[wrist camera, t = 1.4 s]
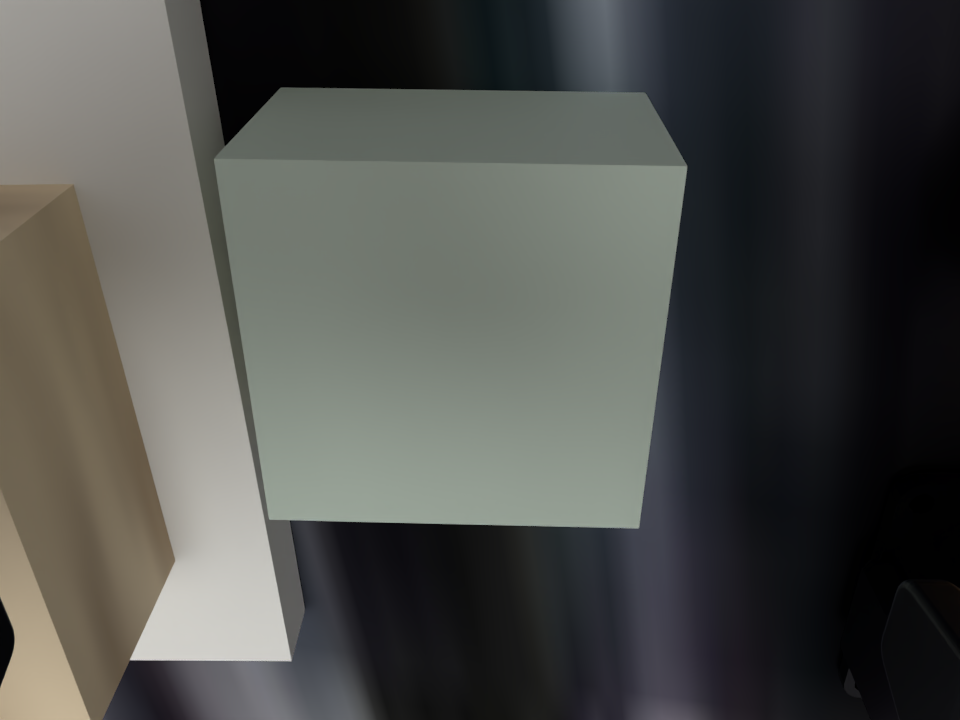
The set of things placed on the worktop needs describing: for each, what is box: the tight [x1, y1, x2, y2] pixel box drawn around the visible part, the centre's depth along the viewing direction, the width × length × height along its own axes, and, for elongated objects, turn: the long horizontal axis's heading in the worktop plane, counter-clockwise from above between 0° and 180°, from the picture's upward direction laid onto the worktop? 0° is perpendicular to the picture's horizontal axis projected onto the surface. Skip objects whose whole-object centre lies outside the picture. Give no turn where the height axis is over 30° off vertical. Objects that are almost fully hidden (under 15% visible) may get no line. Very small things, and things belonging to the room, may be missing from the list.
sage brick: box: [214, 87, 687, 528], centre depth 14 cm, size 6×6×4 cm
